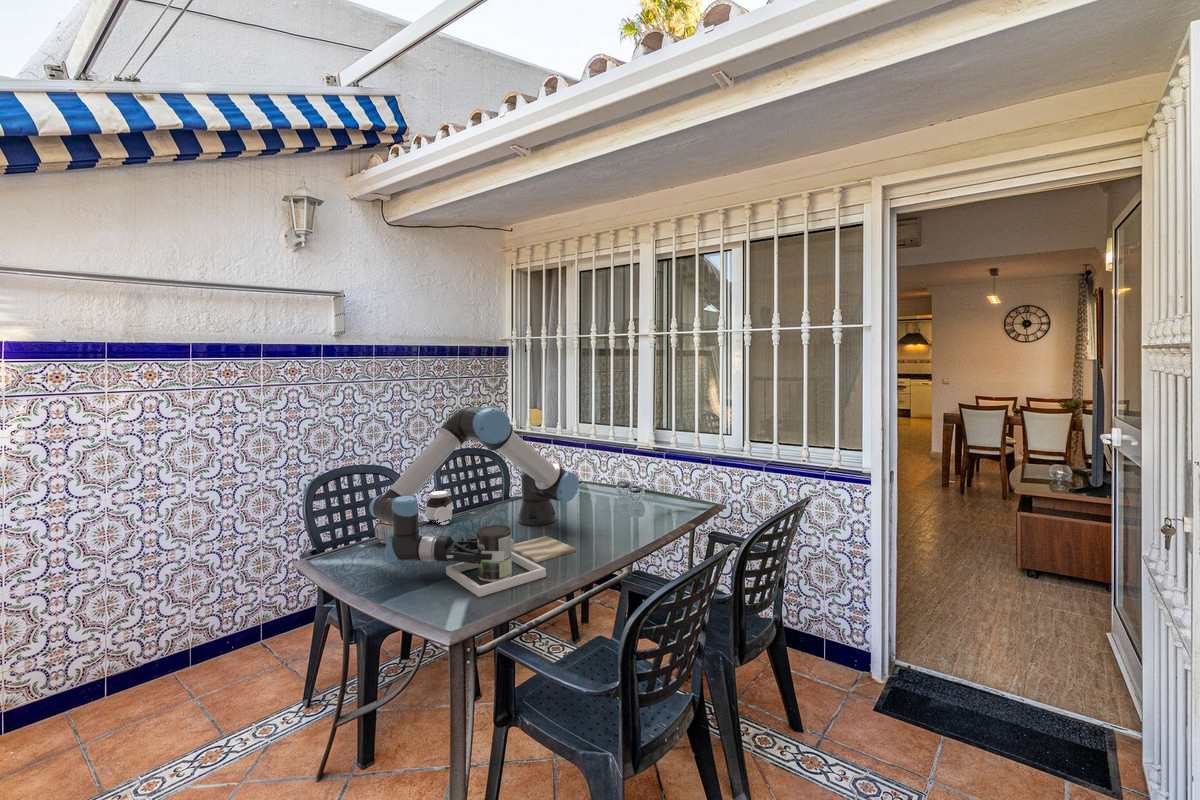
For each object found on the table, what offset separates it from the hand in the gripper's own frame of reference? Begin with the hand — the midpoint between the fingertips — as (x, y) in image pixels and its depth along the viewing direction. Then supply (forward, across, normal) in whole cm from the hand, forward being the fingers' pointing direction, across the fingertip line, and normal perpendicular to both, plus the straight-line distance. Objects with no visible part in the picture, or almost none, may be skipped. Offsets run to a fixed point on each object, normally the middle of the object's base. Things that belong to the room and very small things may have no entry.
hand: (508, 549), depth 170 cm
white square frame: (-4, 0, -8) cm, 9 cm away
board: (+5, -23, -8) cm, 25 cm away
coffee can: (-4, 0, -8) cm, 9 cm away
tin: (-50, -26, -8) cm, 57 cm away
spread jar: (-43, -54, -8) cm, 70 cm away
